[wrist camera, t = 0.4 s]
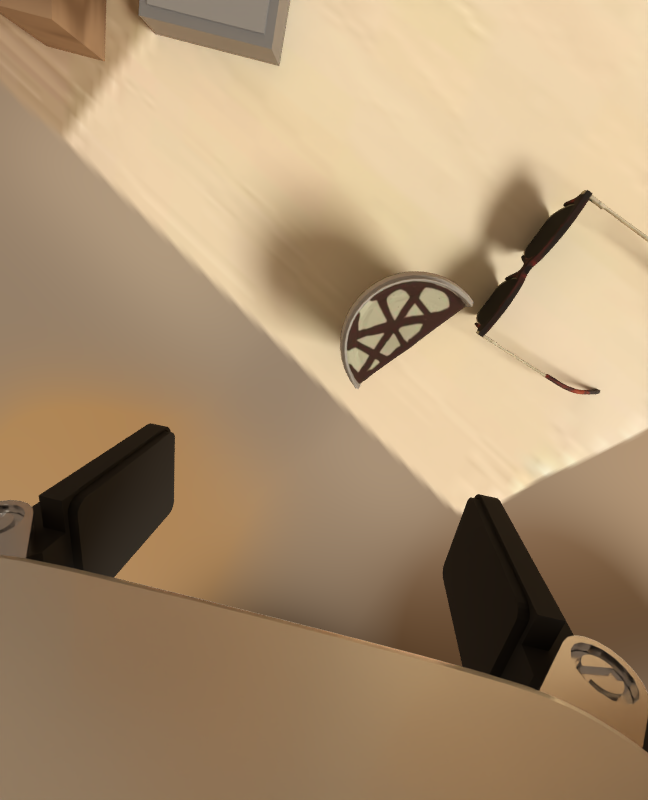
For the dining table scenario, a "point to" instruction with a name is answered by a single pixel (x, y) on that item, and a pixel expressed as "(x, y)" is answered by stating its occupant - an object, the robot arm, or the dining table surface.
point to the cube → (62, 23)
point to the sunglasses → (532, 255)
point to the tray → (222, 24)
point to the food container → (395, 319)
